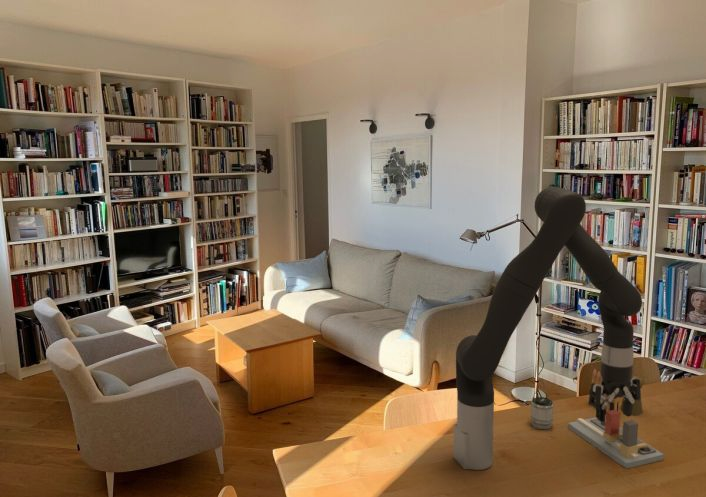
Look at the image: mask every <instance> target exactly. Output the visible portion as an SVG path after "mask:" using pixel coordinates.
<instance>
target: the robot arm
mask: <svg viewBox="0 0 706 497" xmlns="http://www.w3.org/2000/svg"><path fill="white" fill-rule="evenodd" d="M586 205H587V203H586V200H585V199H584V196H582V195H581V194H580V193H578V192H576V191H573V190H569V189H566V188H562V187H559V186H551V187H546V188H544V189H542V190H541V191H540V192H538V194H537V196H536V197H535V201H534V212H535V214H536V216H537V217H538V218H539V219H540V221H542V225H541V227H540V229H538V230H539V231H538V232H537V234H536V236H535V237H534V239H533V240H532V242H531V243H530V244H528V245H527V246H526V247H525V248H524V249H523V250H522V251H521V252H519V253H518V254H517V255H515V257H514V258H512V260H511V261H509V263H508V264H507V265H506V267H505V268H504V270H503V272H502V273H501V276H500V278H499V279H498V281H497V283H496V284H495V287H494V288H493V289H494V290H493V292H492V295H491V298H490V302H489V305H488V310H487V314H486V317H485V319H484V322H483V324H482V326H481V328H480V330H479V332H478V333H477V334H476V335H475V334H474V335H468V336H465V337H464V338H463V339H462V340H460V342H459V343H458V345H457V347H456V352H455V382H456V384H455V385H456V395H457V397H456V400H457V401H456V402H457V403H456V411H457V412H456V422H457V423H455V424H454V425H453V459H454V460H455V462H457V463H458V464H459V465H460V466H461V468H463V470H474V471H479V470H480V471H483V470H487V469H489V468H490V467H491V466H492V465H493V458H494V452H493V451H494V420H495V419H494V418H495V416H494V412H495V411H494V410H495V391H494V390H495V389H494V383H493V376H492V375H494V373H495V371H496V370H497V369H498V366H499V364H500V363H501V362H500V361H501V359H502V357H503V355H504V352H505V350H506V349H507V346H508V343H509V341H510V339H511V337H512V335H513V333H514V332H515V330H516V329H517V327H518V325H519V324H520V322H521V320H522V318H523V317H524V315H525V313H526V312H527V310H528V308H529V307H530V305H531V304H532V302H533V300H534V298H535V297H536V295H537V293H538V291H539V290H540V288H541V285H542V284H543V282H544V279H545V278H546V276H547V275H548V273H549V272H550V270H551V268H552V266H553V265H554V263H555V262H556V259H557V257H558V256H559V254H560V253H561V251H562V250H563V248H564V247H566V249H567V250H568V252H569V253H570V255H572V257H573V258H574V260H575V261H576V262H577V264H578V265H579V267H580V269H581V270H582V271H583V273H584V274H585V276H586V277H587V279H588V281H589V282H590V283H591V285H592V286H593V287H594V288H596V289H597V290H599V291H600V292H599V295H598V300H597V301H598V308H599V309H598V310H599V314H600V318H601V322H602V326H603V335H602V337H603V338H602V339H603V340H602V346H601V352H600V353H601V354H600V356H601V357H600V375H601V376H602V383H601V384H598V385H596V384H594V383H592V384H591V385H590V389H591V392H590V391H589V394H590V404H591V405H592V406H591V405H590V404H589V405H590V406H591V407H593V406H594V407H596V408H595V417H596V418H597V419H598V420H599V421H601V422H605V418H606V415H605V411H606V409H605V408H606V406H607V404H608V403H611V401H612V400H613V399H616V398H620V399H621V398H622V399H623V398H624V399H625V401H623V412H622V415H624V416H625V417H627V418H628V417H631V416H632V415H631V414H632V408H633V403H634V402H635V400H639V399H640V390H641V389H640V380H639V379H637V378H635V377H633V376H634V375H633V372H634V370H633V369H634V368H633V367H634V334H635V332H634V327H633V325H632V323H630V322H629V321H628V320H627V319H626V318H625V317H633V316H635V315H637V314H639V313H640V311H641V310H642V306H643V299H642V296H641V294H640V292H639V290H638V289H637V287H635V286H634V284H632V283H631V282H630V281H629V280H628V279H627V278H626V277H625V276H624V275H623V274H622V273H621V272H620V271H619V270H618V268H617V266H616V265H615V263H614V262H613V260H612V259H611V257H610V255H609V254H608V253H607V252H606V250H605V249H604V248H603V247H602V245H601V244H599V243H598V241H596V240H595V239H594V238H593V237H592V236H591V235H590V234H589V232H588V231H586V229H585V228H584V227H583V226H582V225H581V223H582V221H583V219H584V217H585V214H586V209H587V206H586ZM629 387H630V391H629V390H628V388H629ZM634 391H635V394H634ZM605 394H606V395H607V396H608V397H607V398H606V397H604V395H605ZM603 400H604V401H603ZM602 401H603V403H602V404H601V402H602ZM594 407H593V408H594Z"/></svg>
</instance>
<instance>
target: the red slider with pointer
mask: <svg viewBox="0 0 706 497" xmlns="http://www.w3.org/2000/svg"><path fill="white" fill-rule="evenodd" d="M605 418H606V422H605V432H603V438H605V439H606V440H608V441H609V442H613V441H617V440H620V437H622V434H623V433H620V434H619V427H620V423H621V413H620V412H619V411H618V412H617V411H616V410H611V411H606V415H605Z"/></svg>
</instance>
